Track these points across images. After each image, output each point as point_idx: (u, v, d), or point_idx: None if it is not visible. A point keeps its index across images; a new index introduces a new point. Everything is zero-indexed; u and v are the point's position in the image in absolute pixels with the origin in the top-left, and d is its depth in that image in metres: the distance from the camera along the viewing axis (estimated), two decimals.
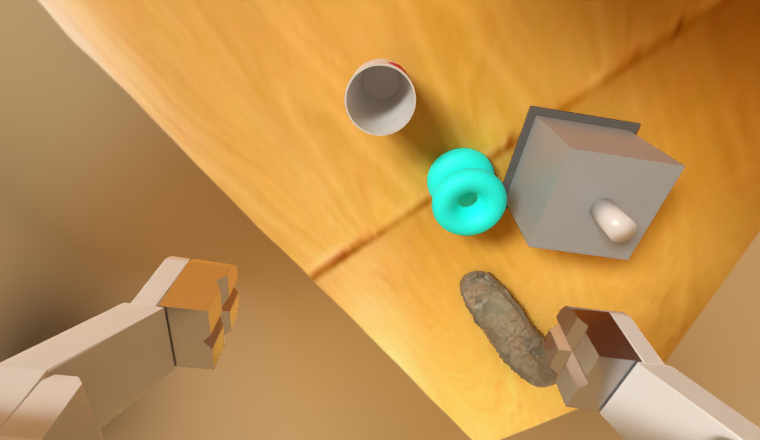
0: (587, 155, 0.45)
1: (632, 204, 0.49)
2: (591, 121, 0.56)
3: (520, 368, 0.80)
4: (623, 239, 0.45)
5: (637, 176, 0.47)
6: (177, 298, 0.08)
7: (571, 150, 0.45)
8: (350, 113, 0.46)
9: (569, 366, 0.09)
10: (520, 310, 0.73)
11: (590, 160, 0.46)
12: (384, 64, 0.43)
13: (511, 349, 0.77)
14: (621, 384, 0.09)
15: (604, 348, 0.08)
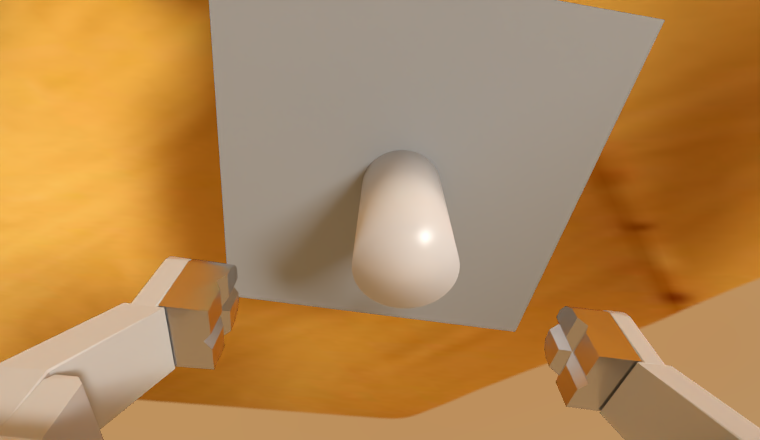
0: (616, 88, 0.13)
1: None
2: None
3: None
4: (365, 280, 0.11)
5: (505, 247, 0.17)
6: (178, 298, 0.08)
7: (655, 22, 0.12)
8: None
9: (569, 366, 0.09)
10: None
11: (594, 104, 0.13)
12: None
13: None
14: (621, 383, 0.09)
15: (604, 348, 0.08)
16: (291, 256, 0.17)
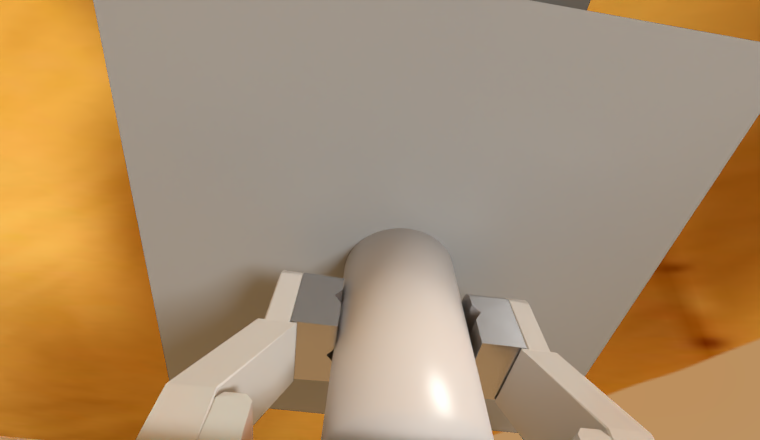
0: (714, 146, 0.09)
1: None
2: None
3: None
4: None
5: None
6: (306, 313, 0.08)
7: None
8: None
9: None
10: None
11: (680, 168, 0.09)
12: None
13: None
14: (510, 371, 0.08)
15: (490, 335, 0.08)
16: None
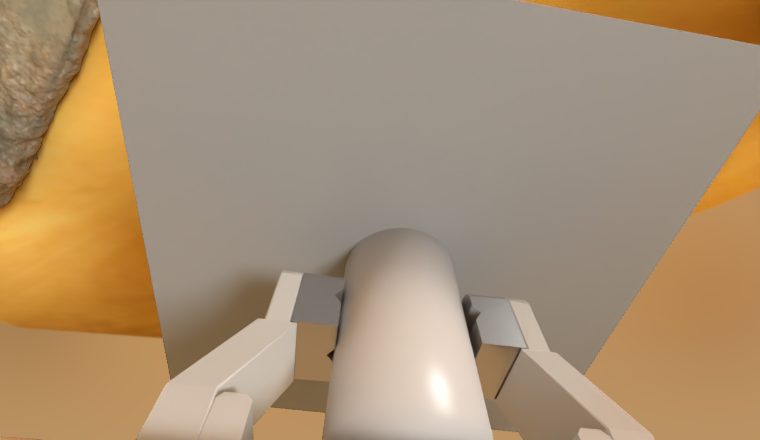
0: (711, 147, 0.09)
1: None
2: None
3: None
4: None
5: None
6: (306, 313, 0.08)
7: None
8: None
9: None
10: (69, 65, 0.34)
11: (677, 169, 0.09)
12: None
13: None
14: (510, 372, 0.08)
15: (490, 335, 0.08)
16: None
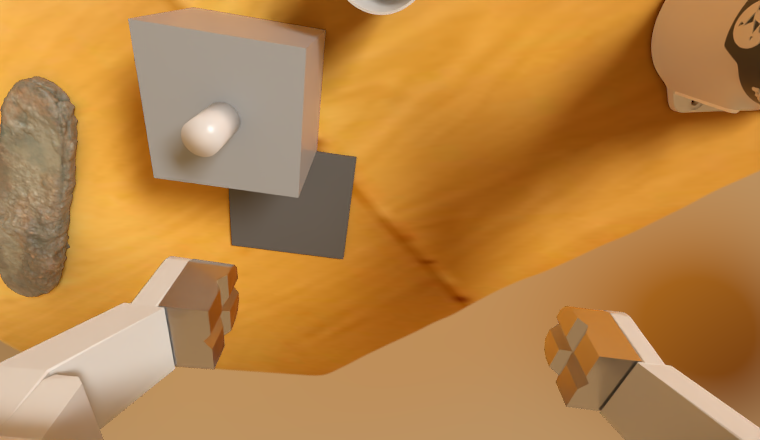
0: (298, 74, 0.33)
1: (237, 156, 0.37)
2: (343, 218, 0.54)
3: (1, 246, 0.54)
4: (187, 144, 0.31)
5: (278, 149, 0.36)
6: (178, 298, 0.08)
7: (303, 49, 0.32)
8: None
9: (569, 366, 0.09)
10: (66, 183, 0.50)
11: (292, 81, 0.33)
12: None
13: (8, 214, 0.51)
14: (621, 383, 0.09)
15: (604, 348, 0.08)
16: (180, 155, 0.37)
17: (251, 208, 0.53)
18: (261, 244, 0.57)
